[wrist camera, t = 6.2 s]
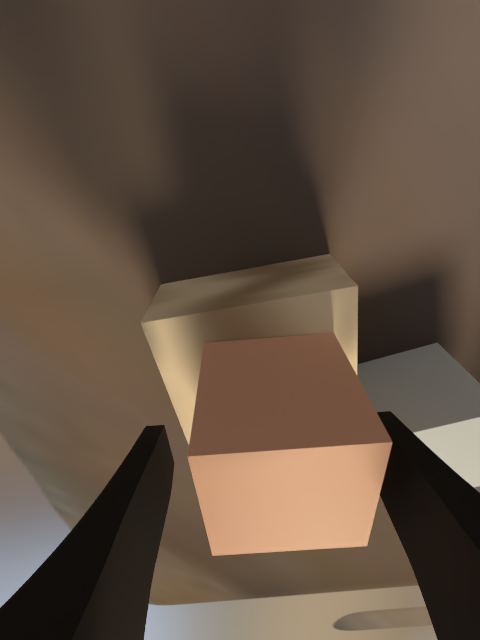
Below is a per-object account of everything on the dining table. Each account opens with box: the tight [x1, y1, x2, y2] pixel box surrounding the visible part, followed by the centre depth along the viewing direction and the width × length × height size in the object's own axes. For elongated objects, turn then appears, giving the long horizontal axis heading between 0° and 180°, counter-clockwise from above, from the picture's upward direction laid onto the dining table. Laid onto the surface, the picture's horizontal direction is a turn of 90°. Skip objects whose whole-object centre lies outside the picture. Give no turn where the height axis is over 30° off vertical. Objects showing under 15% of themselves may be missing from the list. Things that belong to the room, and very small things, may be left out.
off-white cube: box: [357, 343, 480, 487], centre depth 16 cm, size 5×5×5 cm
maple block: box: [141, 254, 358, 444], centre depth 15 cm, size 8×8×4 cm
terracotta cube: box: [188, 333, 393, 556], centre depth 11 cm, size 5×5×5 cm
